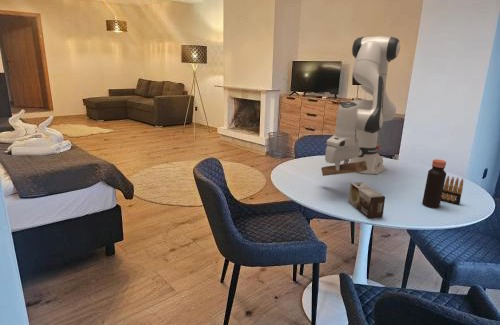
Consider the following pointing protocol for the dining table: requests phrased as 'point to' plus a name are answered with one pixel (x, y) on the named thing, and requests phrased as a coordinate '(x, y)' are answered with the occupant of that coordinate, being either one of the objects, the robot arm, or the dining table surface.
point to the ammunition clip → (448, 191)
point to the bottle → (434, 184)
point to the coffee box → (366, 200)
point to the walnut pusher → (345, 168)
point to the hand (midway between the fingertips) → (341, 169)
